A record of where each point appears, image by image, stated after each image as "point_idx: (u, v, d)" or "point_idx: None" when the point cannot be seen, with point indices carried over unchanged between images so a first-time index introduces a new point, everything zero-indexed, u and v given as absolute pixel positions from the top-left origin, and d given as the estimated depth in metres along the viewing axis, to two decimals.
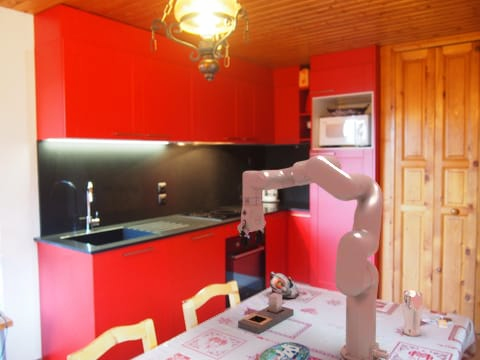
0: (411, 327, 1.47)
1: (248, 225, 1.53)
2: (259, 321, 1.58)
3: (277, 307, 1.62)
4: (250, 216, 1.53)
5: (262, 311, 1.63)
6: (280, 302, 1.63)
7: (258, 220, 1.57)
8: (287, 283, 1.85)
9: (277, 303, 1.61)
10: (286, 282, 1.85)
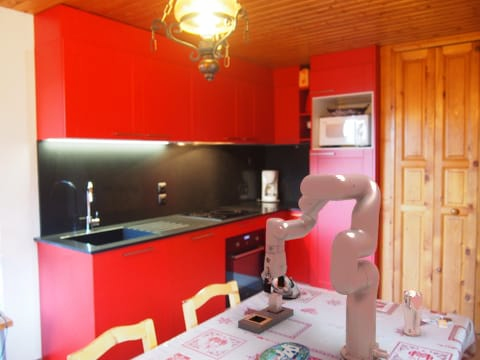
0: (411, 327, 1.47)
1: (271, 273, 1.58)
2: (259, 321, 1.58)
3: (277, 307, 1.62)
4: (273, 264, 1.58)
5: (262, 311, 1.63)
6: (280, 302, 1.63)
7: (281, 267, 1.62)
8: (288, 283, 1.85)
9: (277, 303, 1.61)
10: (288, 282, 1.85)
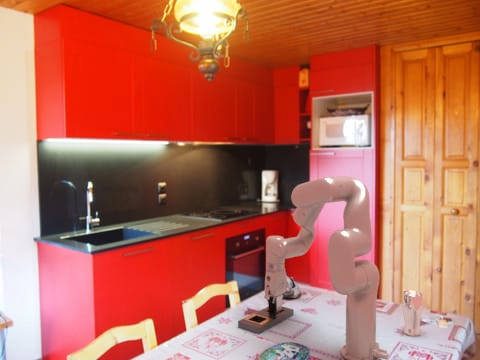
0: (411, 327, 1.47)
1: (272, 291, 1.58)
2: (259, 321, 1.58)
3: (277, 307, 1.62)
4: (274, 282, 1.58)
5: (262, 311, 1.63)
6: (280, 302, 1.63)
7: (281, 284, 1.62)
8: (290, 283, 1.85)
9: (277, 303, 1.61)
10: (289, 282, 1.85)
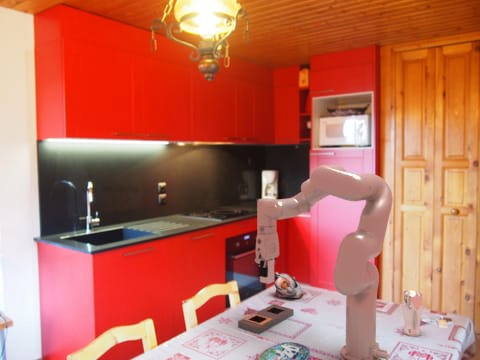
0: (411, 327, 1.47)
1: (263, 254, 1.53)
2: (259, 321, 1.58)
3: (269, 272, 1.56)
4: (265, 245, 1.53)
5: (262, 311, 1.63)
6: (272, 267, 1.58)
7: (273, 248, 1.57)
8: (292, 283, 1.85)
9: (268, 267, 1.56)
10: (291, 282, 1.85)
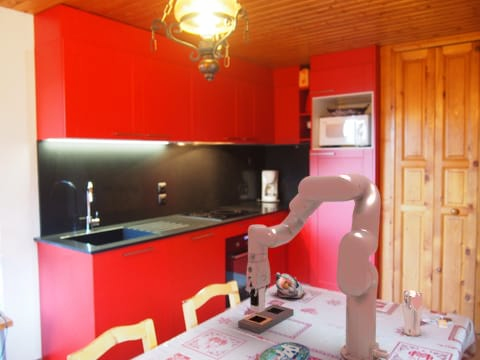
0: (411, 327, 1.47)
1: (254, 283, 1.49)
2: (259, 321, 1.58)
3: (260, 300, 1.52)
4: (256, 273, 1.49)
5: (262, 311, 1.63)
6: (263, 295, 1.53)
7: (264, 276, 1.52)
8: (294, 283, 1.85)
9: (259, 296, 1.52)
10: (293, 282, 1.85)
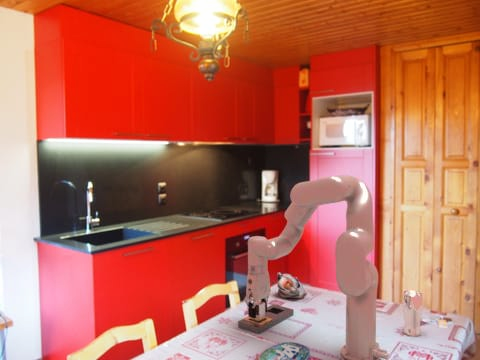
0: (411, 327, 1.47)
1: (254, 295, 1.49)
2: None
3: (260, 316, 1.52)
4: (256, 285, 1.49)
5: None
6: (263, 310, 1.54)
7: (264, 288, 1.53)
8: (295, 283, 1.85)
9: (259, 312, 1.52)
10: (294, 282, 1.85)
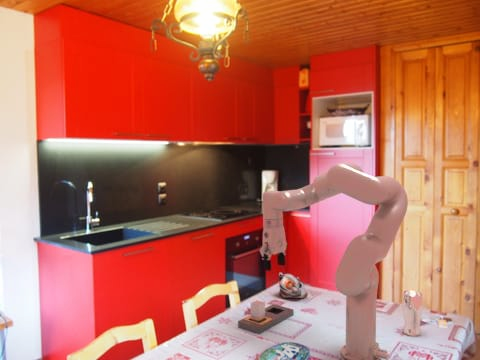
0: (411, 327, 1.47)
1: (271, 248, 1.48)
2: None
3: (260, 316, 1.52)
4: (272, 238, 1.48)
5: None
6: (263, 310, 1.54)
7: (280, 242, 1.51)
8: (297, 283, 1.85)
9: (259, 312, 1.52)
10: (296, 282, 1.84)
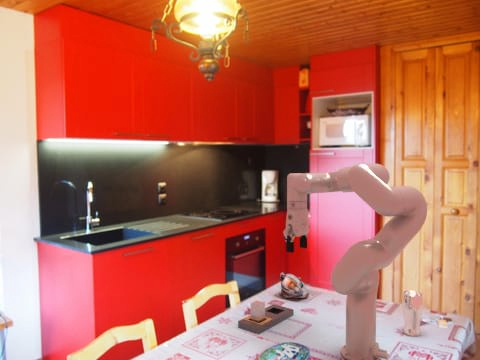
0: (411, 327, 1.47)
1: (294, 230, 1.47)
2: None
3: (260, 316, 1.52)
4: (296, 220, 1.47)
5: None
6: (263, 310, 1.54)
7: (303, 224, 1.51)
8: (299, 283, 1.85)
9: (259, 312, 1.52)
10: (298, 282, 1.84)
